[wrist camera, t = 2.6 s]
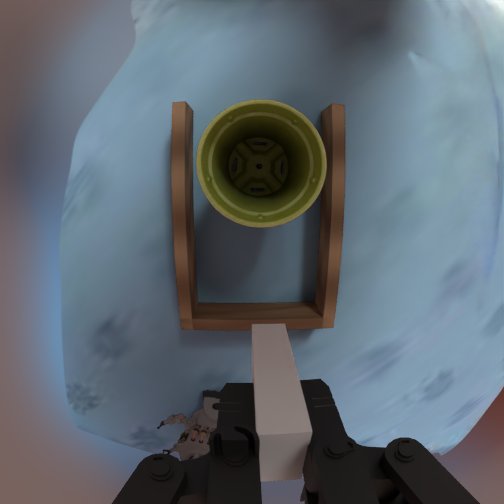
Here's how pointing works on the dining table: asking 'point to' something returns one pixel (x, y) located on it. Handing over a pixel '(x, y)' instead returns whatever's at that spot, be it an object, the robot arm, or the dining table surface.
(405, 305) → the dining table surface
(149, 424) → the dining table surface
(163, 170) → the dining table surface
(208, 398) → the figurine
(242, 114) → the plant pot
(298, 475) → the robot arm
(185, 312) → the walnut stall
